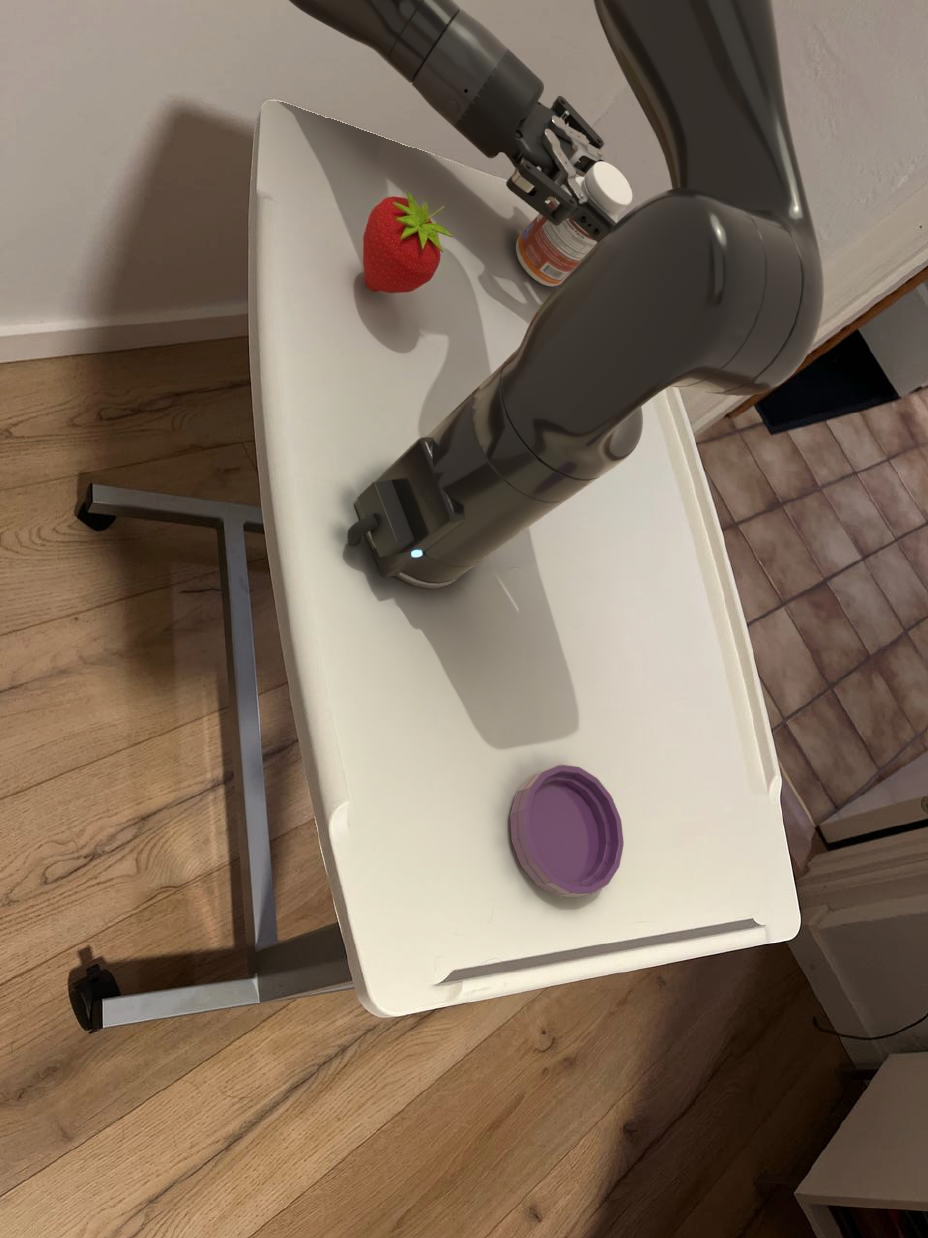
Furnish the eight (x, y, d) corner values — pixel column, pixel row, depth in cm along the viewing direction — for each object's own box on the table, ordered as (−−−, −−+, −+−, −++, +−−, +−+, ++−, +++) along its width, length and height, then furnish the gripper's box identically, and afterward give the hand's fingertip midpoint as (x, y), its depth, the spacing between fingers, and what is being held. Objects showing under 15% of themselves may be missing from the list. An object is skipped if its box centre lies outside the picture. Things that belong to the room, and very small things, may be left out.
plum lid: (535, 917, 62) (555, 914, 60) (488, 793, 64) (506, 786, 62) (619, 870, 68) (640, 866, 66) (574, 757, 69) (593, 750, 68)
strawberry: (389, 254, 78) (452, 169, 70) (411, 329, 76) (478, 251, 68) (329, 241, 74) (388, 150, 67) (350, 319, 72) (414, 235, 65)
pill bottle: (537, 230, 92) (611, 149, 83) (572, 281, 92) (649, 205, 83) (502, 241, 88) (576, 157, 79) (538, 294, 88) (616, 216, 79)
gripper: (478, 86, 71) (631, 230, 77) (524, 15, 79) (660, 149, 85) (428, 156, 77) (574, 285, 82) (476, 83, 85) (606, 205, 91)
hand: (617, 216), depth 84 cm, fingers closed on pill bottle, 6 cm apart
